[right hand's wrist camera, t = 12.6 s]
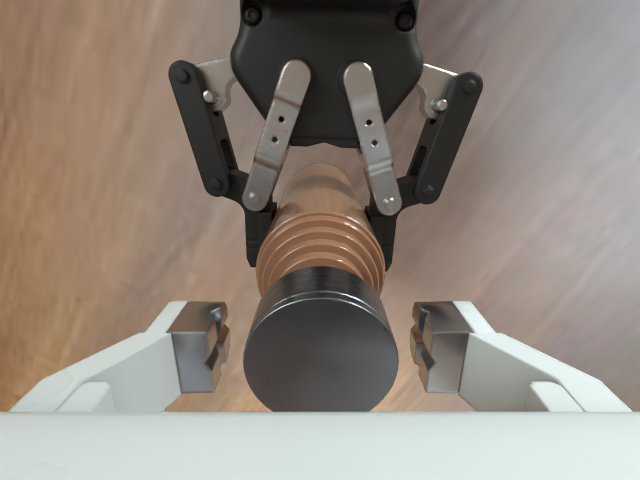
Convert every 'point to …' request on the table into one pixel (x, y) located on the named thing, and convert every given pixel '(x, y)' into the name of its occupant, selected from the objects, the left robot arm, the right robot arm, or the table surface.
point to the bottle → (320, 230)
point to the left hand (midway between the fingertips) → (319, 272)
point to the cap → (320, 344)
